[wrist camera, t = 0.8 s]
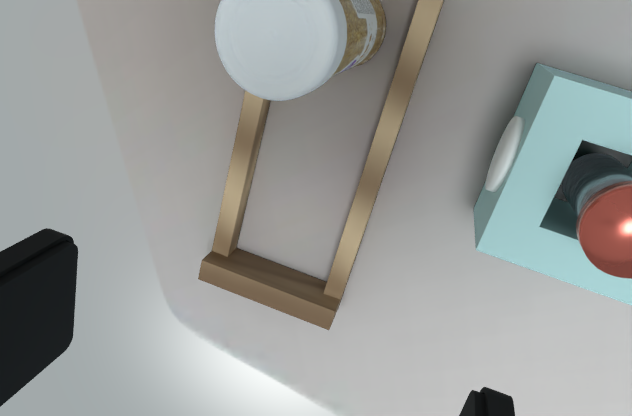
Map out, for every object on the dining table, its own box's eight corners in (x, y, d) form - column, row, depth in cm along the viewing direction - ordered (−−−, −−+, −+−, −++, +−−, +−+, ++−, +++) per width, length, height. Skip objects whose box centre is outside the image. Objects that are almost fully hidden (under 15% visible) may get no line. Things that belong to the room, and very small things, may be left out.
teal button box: (529, 60, 28) (545, 72, 23) (708, 114, 27) (770, 141, 22) (467, 207, 32) (468, 247, 27) (623, 260, 31) (657, 314, 25)
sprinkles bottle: (347, 82, 31) (274, 129, 19) (294, 25, 31) (185, 36, 19) (405, 24, 29) (364, 36, 17) (349, -37, 29) (267, -71, 17)
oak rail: (283, -49, 30) (265, -54, 27) (444, -2, 28) (442, -3, 26) (217, 259, 38) (198, 278, 35) (338, 306, 37) (329, 330, 34)
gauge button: (573, 135, 26) (608, 175, 20) (650, 159, 26) (712, 208, 19) (540, 201, 28) (564, 259, 21) (613, 226, 27) (658, 292, 21)
